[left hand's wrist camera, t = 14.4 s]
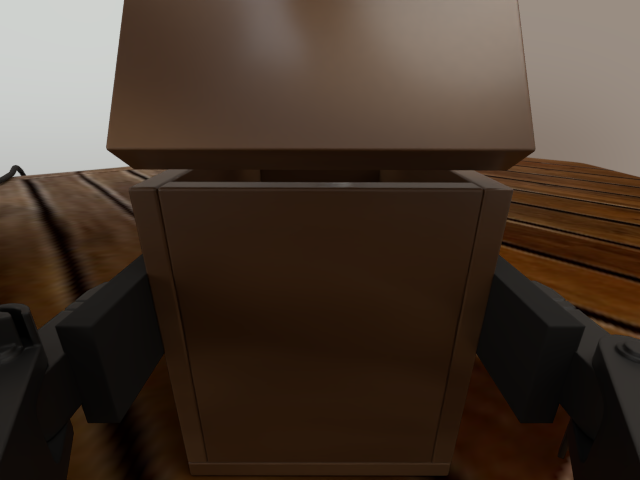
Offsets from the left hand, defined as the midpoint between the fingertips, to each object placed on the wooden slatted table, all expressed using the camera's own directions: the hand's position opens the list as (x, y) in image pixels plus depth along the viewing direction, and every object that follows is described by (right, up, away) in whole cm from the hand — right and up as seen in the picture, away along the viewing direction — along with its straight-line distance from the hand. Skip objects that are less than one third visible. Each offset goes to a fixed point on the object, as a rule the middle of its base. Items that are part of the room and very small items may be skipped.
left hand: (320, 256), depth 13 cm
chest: (0, -5, +6) cm, 8 cm away
